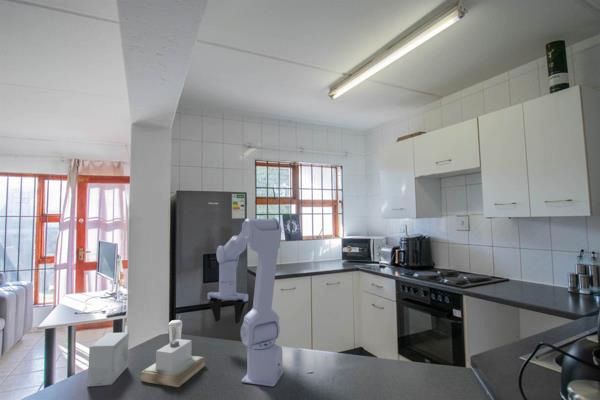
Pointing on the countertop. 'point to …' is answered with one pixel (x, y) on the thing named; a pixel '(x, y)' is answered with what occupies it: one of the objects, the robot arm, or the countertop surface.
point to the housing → (173, 355)
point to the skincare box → (107, 359)
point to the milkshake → (175, 329)
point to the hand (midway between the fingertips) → (227, 321)
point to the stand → (173, 373)
